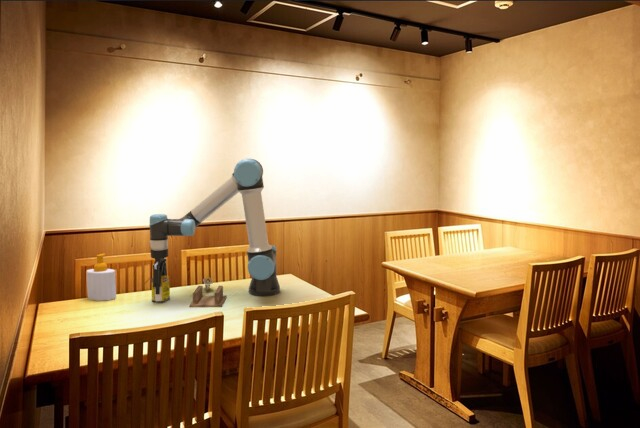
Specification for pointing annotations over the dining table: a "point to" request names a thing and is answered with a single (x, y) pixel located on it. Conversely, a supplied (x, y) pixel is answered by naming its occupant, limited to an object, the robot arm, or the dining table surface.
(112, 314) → the dining table surface
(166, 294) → the supplement box
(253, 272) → the robot arm
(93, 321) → the dining table surface
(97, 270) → the soap bottle
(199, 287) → the slot block
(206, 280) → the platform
